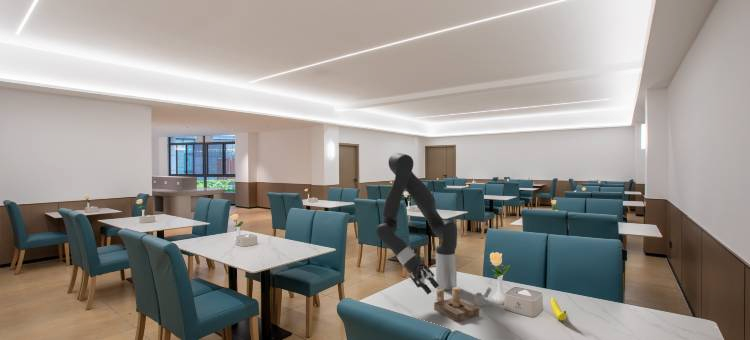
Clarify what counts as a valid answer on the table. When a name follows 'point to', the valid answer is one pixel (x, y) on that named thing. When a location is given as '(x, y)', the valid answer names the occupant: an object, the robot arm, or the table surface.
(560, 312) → the banana
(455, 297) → the long pin
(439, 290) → the short pin
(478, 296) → the lighter
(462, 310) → the hole plate
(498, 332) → the table surface
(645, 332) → the table surface
